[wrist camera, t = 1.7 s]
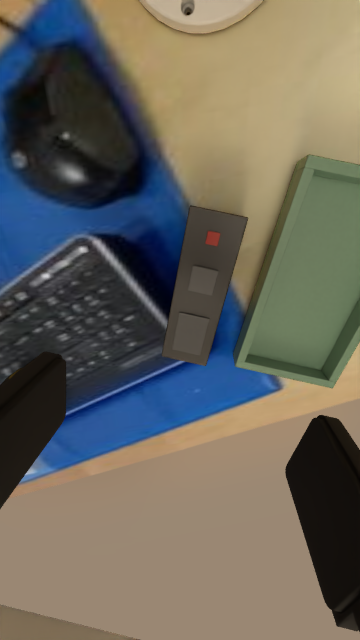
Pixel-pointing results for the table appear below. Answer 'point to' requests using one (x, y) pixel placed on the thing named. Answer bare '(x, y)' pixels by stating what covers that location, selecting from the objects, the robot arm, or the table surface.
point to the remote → (202, 282)
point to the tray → (308, 280)
